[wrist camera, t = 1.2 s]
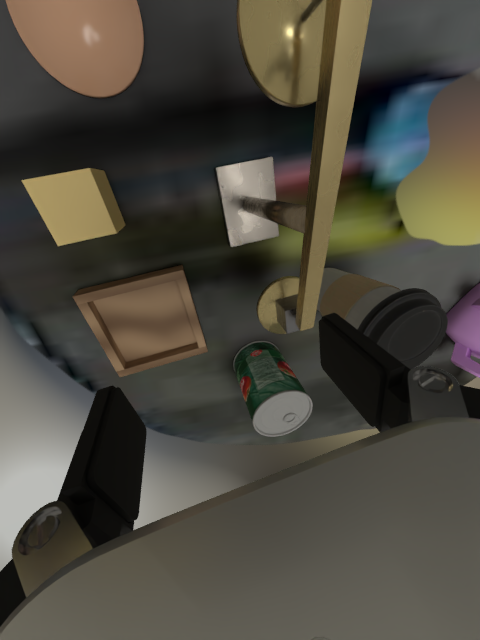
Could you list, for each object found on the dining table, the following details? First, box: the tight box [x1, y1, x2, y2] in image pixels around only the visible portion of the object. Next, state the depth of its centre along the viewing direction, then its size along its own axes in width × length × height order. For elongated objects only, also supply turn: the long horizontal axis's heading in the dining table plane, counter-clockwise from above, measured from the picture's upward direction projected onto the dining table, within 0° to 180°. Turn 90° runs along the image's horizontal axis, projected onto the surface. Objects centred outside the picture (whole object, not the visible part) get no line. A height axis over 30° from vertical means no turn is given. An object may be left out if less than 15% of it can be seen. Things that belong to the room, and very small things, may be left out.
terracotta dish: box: [6, 0, 144, 98], centre depth 18 cm, size 9×9×1 cm
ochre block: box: [22, 168, 125, 246], centre depth 22 cm, size 5×5×5 cm
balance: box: [214, 0, 372, 334], centre depth 20 cm, size 23×6×18 cm, turn 10°
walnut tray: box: [73, 265, 208, 377], centre depth 31 cm, size 12×12×2 cm
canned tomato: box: [233, 341, 312, 437], centre depth 35 cm, size 8×8×11 cm
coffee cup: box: [317, 268, 448, 369], centre depth 29 cm, size 9×9×15 cm
